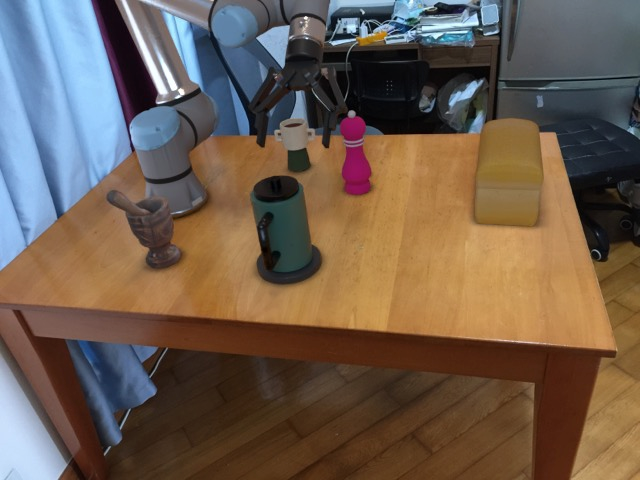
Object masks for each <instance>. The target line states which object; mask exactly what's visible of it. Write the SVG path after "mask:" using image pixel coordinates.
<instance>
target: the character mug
mask: <svg viewBox="0 0 640 480" xmlns="http://www.w3.org/2000/svg"><path fill="white" fill-rule="evenodd" d="M273 133H274V139H275V141H276V142H278V143H279V142H281V144H282V147H283V148H284V149H285V150H286V151H287V155H286V157H287V169H288V170H289V171H292V172H295V173H296V172H302V171H306V170H307V169H308V168H310V167H311V166H312V165H311V159H310V156H309V152H308V149H307V147H308V145H310V144H309V143H310V142H312V141H316V130H315V128H308V123H307V120H306V119H305V118H302V117H292V118H287V119H285V120H282V121H281V122H280V123H279V129H275V130H274V131H273ZM309 133H310V134H311V136H309ZM279 134H280V137H279Z"/></svg>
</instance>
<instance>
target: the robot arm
mask: <svg viewBox="0 0 640 480" xmlns="http://www.w3.org/2000/svg"><path fill="white" fill-rule="evenodd" d="M114 1H115V4H116V6H117V8H118V11H119V12H120V15H121V17H122V19H123V21H124V23H125V25H126V27H127V29H128V31H129V34H130V36H131V38H132V40H133V42H134V44H135V46H136V48H137V51H138V53H139V55H140V57H141V59H142V62H143V64H144V66H145V68H146V71H147V72H148V74H149V76H150V79H151V81H152V83H153V85H154V87H155V89H156V92H157V96H156V98H155V104H156V107H151V108H149V110H144V111H142V112H140V113H138V114H137V115H136V116H135V117H133V119H132V120H131V122H130V123H129V133H130V137H131V139H130V140H131V143H132V145H133V147H134V152H135V154H136V157H137V160H138V162H139V167H140V169H141V171H142V172H141V173H142V175H143V178H144V182H145V190H144V191H145V193H144V198H149V197H163V198H165V199H167V200H168V205H169V208H170V212H171V215H172V218H173V219H178V218H181V217H185V216H188V215H191V214H193V213H195V212H197V211H198V210H200V209H202V207H204V205H206V203H207V201H208V194H207V191H206V188H205V186H204V185H203V182H201V180H200V179H199V177H198V176H197V174H196V173H195V171H194V168H193V166H192V161H191V157H190V153H191V152H192V151H194V150H195V149H196V148H197V147H198V146H200V145H201V144H202V143H203V142H205V141H206V140H208V139H210V138H211V136H212V135H213V134H214V132H215V131H216V130H217V129H218V126H219V124H220V118H221V116H220V115H221V114H220V109H219V106H218V104H217V102H216V101H215V99H214V98H213V97H212V95H209V94H208V93H207V92H205V91H202V88H201V86H200V83H197V82H194V81H193V80H191V79H190V78H191V77H190V76H189V73H188V72H187V69H186V67H185V64H184V63H183V62H184V61H183V60H182V58H181V55H180V53H179V51H178V49H177V46H176V44H175V41H174V39H173V37H172V34H171V32H170V30H169V28H168V25H167V23H166V20H165V18H164V15H163V14H162V12H164V13H167V14H169V15H172V16H175V17H176V18H179V19H181V20H183V21H186V22H188V23H190V24H192V25H195V26H197V27H200V28H202V29H205V30H206V31H209V32H211V33H213V36H214V37H215V39H216V40H217V41H218V42H219V43H220V45H222V46H223V47H225V48H227V49H239V48H241V47H244V46H247V45H250V43H252V42H253V41H254V40H255V39H257V38H259V37H260V36H262V35H264V34H266V33H267V32H268V31H271V30H272V29H273V28H279V27H280V28H281V27H286V26H289V29H288V35H287V44H286V49H285V55H284V64H283V67H282V69H280V68H279V69H278V68H275V67H274V66H270V67H268V70H267V74H266V76H265V78H264V80H263V82H262V83H261V85H260V86H259V88H258V89H257V92H256V93H255V94H254V95H253V97H252V99H251V101H250V102H249V104H248V106H247V107H248V109H249V110H250V111H251V112H252V113H253V114H255V121H254V128H255V129H256V130H257V133H256V140H255V143H256V145H258V146H259V147H260V148H261V149H265V148H266V143H267V142H266V141H267V136H268V135H267V134H268V127H269V121H270V120H269V119H270V117H269V116H268V114H269V113H270V111H272V109H274V108H275V107H276V106H277V104H279V102H280V101H281V100H282V99H283V98H284V97H285V96H287V95H289V94H290V93H291V92H292V91H293V92H300V91H303V92H309V91H310V90H311V89H313V91H314V92H315V94H317V96H318V97H319V98H320V100H321V101H322V103H323V104H324V105H325V107H326V108H327V109H328V110H327V111H325V113H324V121H323V128H322V135H321V136H322V137H321V145H322V146H323V148H324V149H330V143H331V137H332V136H331V135H332V132H335V131H336V130H337V125H338V117H339V115H341V114H348V112H349V109H348V106H347V103H346V101H345V99H344V96H343V93H342V90H341V89H340V86H339V84H338V81H337V71H336V69H335V67H334V65H333V64H332V63H331V64H330V63H329V64H328V65H327V67H323V68H322V66H323V58H324V48H325V42H326V35H327V34H326V33H327V23H328V16H329V10H330V4H331V0H114ZM323 76H324V77H325V79H326V80H328V82H329V85H330V88H331V90H332V93H333V95H334V97H335V100H336V102H337V105H335V104H334V103H333V102H332V100H331V99H330V98H329V96H328V95H327V94H326V92H325V91H324V89H323V88H322V87H321V86H320V84H319V83H318V82H319V81H320V80H321V78H322V77H323ZM280 78H282V79H281V80H280ZM277 82H278V84H277ZM276 84H277V86H276ZM275 86H276V87H275Z"/></svg>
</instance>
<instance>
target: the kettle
mask: <svg viewBox="0 0 640 480" xmlns="http://www.w3.org/2000/svg"><path fill="white" fill-rule="evenodd" d="M304 189H305V188H304V186H303V183H301V182H299V181H298V179H297V178H295V177H293V176H291V175H285V174H284V175H283V174H280V175H271V176H268V177H265V178H263V179H260V180H259V181H257V182H256V183H255V184H254V186H253V188H252V190H251V191H250V194H249V197H250V203H251V207H252V212H253V218H254V221H255V226H256V233H257V238H258V242H259V247H260V251H261V252H260V254H261V253H262V258H263V263H264V267H265V269H266V270H267V271H272V270H273V271H276V272H291V271H295V270H298V269H301V268H303V267H304V266H306V265H307V264H308V263H309V262H310V261H311V260H312V257H313V251H312V244H313V243H312V238H311V231H310V223H309V217H308V209H307V203H306V196H305V190H304Z"/></svg>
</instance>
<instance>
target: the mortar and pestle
mask: <svg viewBox="0 0 640 480" xmlns="http://www.w3.org/2000/svg"><path fill="white" fill-rule="evenodd" d="M105 198H106V201H107V203H109V204H110V205H112V206H113V207H115V208H116V209H119V210H122V211H123V212H125V218H126V220H127V223H128V225H129V228H130V230H131V232H132V235H133V236H135V238H136V239H137V240H138V242H139V244H140V245H141V246H142V247H144V248H148V252H147V254H146V256H145V264H146V265H147V266H149V267H150V268H152V269H158V270H159V269H164V268H168V267H170V266H172V265H174V264H176V263H177V262H178V261H179V260H180V258H181V257H182V252H181V250H180V248H179V246H178V245H177V244H174V243H171V241H172V239H173V237H174V233H175V231H174V227H175V226H174V225H175V224H174V218H172V215H171V212H170V208H169V205H168V200H167V199H165V198H163V197H149V198H145V197H144V198H141V199H139V200H136V201H135V202H133V201H131V199H130V198H129V197H127V196H126V195H125V194H124V193H122V192H121V191H119V190H116V189H111V190H109V191H108V192H107V193H106V196H105Z"/></svg>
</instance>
